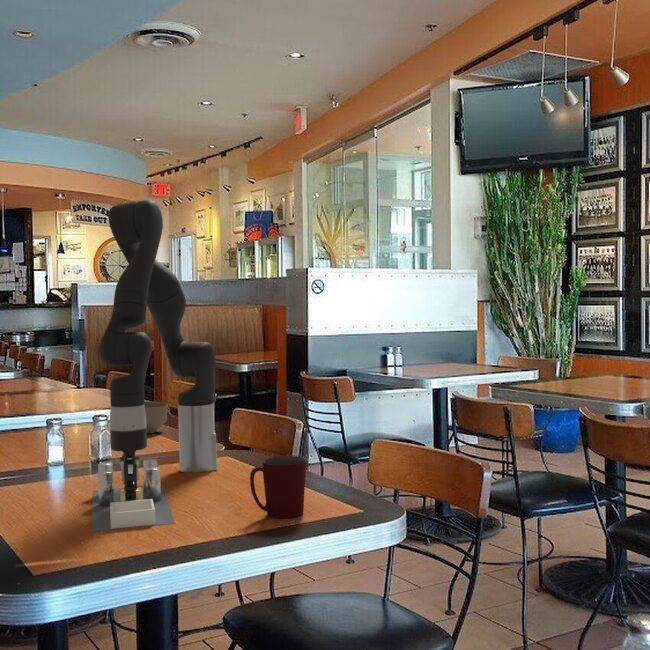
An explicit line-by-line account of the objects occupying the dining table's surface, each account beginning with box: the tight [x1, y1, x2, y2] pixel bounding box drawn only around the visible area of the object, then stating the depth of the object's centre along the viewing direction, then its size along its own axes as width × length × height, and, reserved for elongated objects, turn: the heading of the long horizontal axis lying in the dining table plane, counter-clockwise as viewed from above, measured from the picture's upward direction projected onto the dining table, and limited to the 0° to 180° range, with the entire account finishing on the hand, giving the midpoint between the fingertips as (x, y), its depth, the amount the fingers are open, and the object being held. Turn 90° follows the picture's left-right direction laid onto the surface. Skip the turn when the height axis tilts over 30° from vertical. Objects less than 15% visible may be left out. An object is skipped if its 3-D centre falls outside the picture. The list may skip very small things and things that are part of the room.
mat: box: [90, 484, 176, 533], centre depth 173 cm, size 16×34×1 cm, turn 15°
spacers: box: [97, 458, 162, 506], centre depth 181 cm, size 13×12×7 cm
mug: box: [249, 455, 307, 519], centre depth 165 cm, size 12×9×11 cm
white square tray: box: [110, 499, 155, 529], centre depth 162 cm, size 8×8×3 cm
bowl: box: [145, 401, 169, 434], centre depth 268 cm, size 13×13×10 cm
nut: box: [120, 486, 143, 502], centre depth 171 cm, size 5×5×4 cm
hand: (130, 506), depth 171 cm, fingers closed on nut, 4 cm apart
